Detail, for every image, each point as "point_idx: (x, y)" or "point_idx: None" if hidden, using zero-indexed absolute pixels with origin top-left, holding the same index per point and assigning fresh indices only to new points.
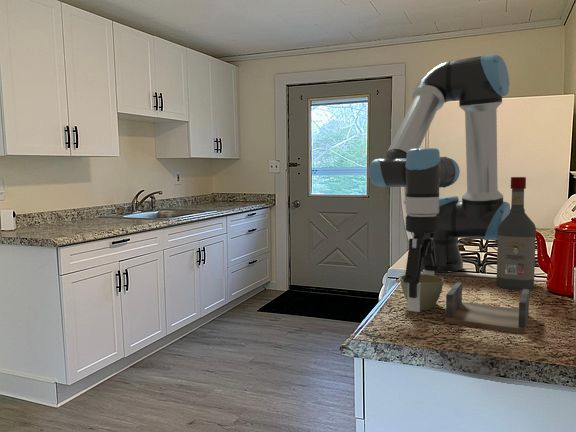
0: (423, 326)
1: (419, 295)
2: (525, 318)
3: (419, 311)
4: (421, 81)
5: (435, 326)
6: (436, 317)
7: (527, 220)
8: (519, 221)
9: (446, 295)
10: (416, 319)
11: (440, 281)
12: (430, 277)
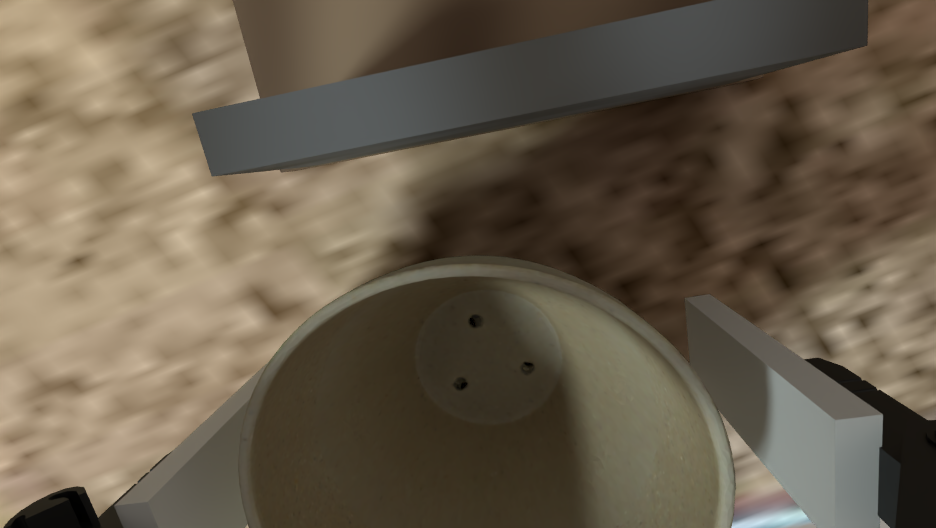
0: (893, 176)
1: (784, 347)
2: None
3: (709, 295)
4: None
5: (855, 107)
6: (646, 184)
7: None
8: None
9: (860, 44)
10: (760, 276)
11: (318, 333)
12: (265, 467)
